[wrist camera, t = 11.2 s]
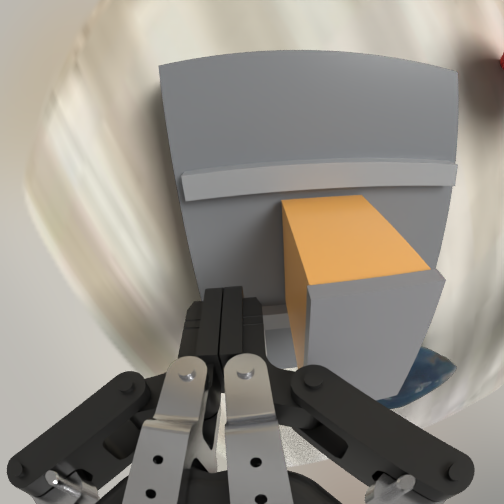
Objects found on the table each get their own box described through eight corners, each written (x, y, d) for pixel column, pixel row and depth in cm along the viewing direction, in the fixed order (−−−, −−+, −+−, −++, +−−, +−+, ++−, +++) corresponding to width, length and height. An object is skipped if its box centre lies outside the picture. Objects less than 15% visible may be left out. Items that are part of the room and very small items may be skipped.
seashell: (326, 409, 25) (405, 446, 22) (377, 341, 22) (464, 387, 18) (340, 375, 30) (408, 409, 27) (382, 312, 27) (456, 352, 24)
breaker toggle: (363, 193, 13) (445, 279, 7) (353, 293, 17) (397, 395, 10) (279, 198, 14) (310, 299, 7) (283, 301, 17) (302, 413, 10)
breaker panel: (428, 71, 13) (466, 72, 9) (396, 322, 23) (412, 354, 20) (173, 70, 13) (153, 64, 10) (222, 344, 23) (220, 381, 20)
